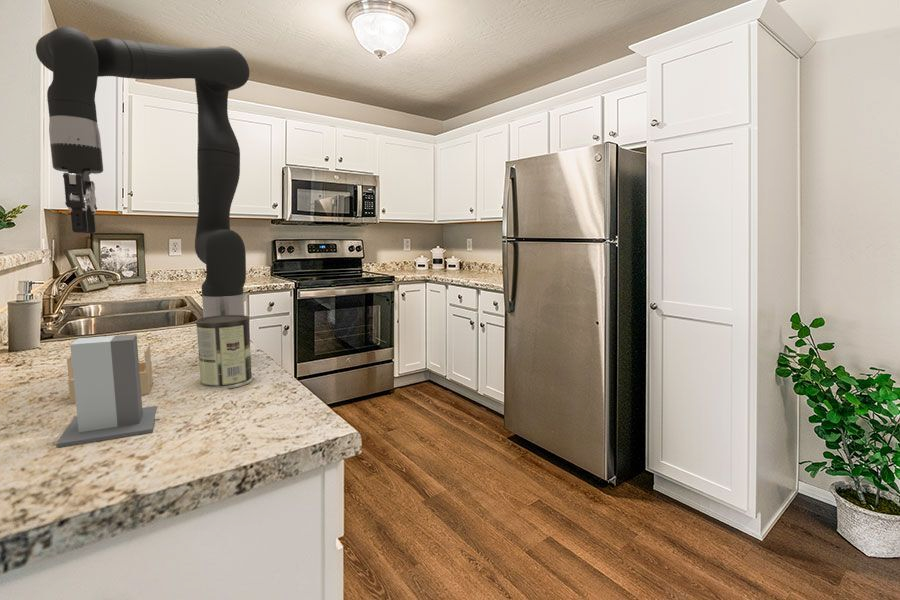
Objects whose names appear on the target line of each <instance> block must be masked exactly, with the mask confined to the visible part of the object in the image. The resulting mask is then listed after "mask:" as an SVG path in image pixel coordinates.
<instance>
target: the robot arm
mask: <svg viewBox="0 0 900 600" xmlns="http://www.w3.org/2000/svg"><path fill="white" fill-rule="evenodd" d="M35 54H36V55H37V58H38V60H39V62H40V63H41V64H42V65H43V66H44V67H45V68H46V69H47V70H49V71H51V72H52V81H51V84H50V85H49V86H48V87H47V88H48V89H47V93H46V95H47V96H46V97H47V100H46V101H47V107H48V116H49V119H48V121H49V122H48V134H49V136H48V137H49V145H50V146H49V147H50V152H51V163H52V168H53V169H54V170H55V171H59V172H63V174H62V177H63V184H64V195H65V197H64V198H65V206H66V207H67V208H68V210H69V212H70V220H71V228H72V232H73V233H84V234H95V233H96V232H97V228H96V217H95V214H96V213H97V210H98V207H97V198H96V193H95V191H96V186H95V182H94V181H93V180H91V178H90V175H91V174H93V175H95V174H97V175H98V174H101V173H103V172H104V164H103V163H104V161H103V152H102V150H103V149H102V142H101V134H100V130H99V125H98V116H97V106H96V93H97V92H96V91H97V86H98V78H100V77H116V78H123V79H124V78H125V79H132V80H133V79H135V80H152V81H153V80H156V81H158V80H176V79H177V80H178V79H180V80H181V79H194V84H195V93H196V94H195V95H196V100H197V193H198V195H197V197H198V212H197V222H196V228H195V230H196V231H195V238H194V250H195V254H196V256H197V258H198V259H199V260H200V261H201V262H202V263H203V264H205V266H206V268H205V269H206V271H205V272H206V273H205V279H204V282H203V283H202V284H201V300H202V301H201V302H202V318H204V317H211V316H220V315H244V316H245V301H244V300H245V299H244V297H245V296H244V286H245V283H246V282H247V281H246V279H247V264H246V263H247V258H246V257H247V255H246V246H245V242H244V240H243V238H242V237H241V235H240V234H239V233H238V232H236V231H234V230H231V225H230V223H231V222H230V221H231V220H230V219H231V218H230V213H231V206H232V204H233V200H234V197H235V193H236V191H237V189H238V184H239V181H240V174H241V150H240V145H239V142H238V141H239V140H238V139H237V136H236V134H235V132H234V130H233V128H232V126H231V122H230V120H229V114H228V101H229V100H228V99H229V92H230V91H234V90H236V89H240V88H242V87H243V86H245V85H246V84H247V83H248V81H249V80H250V79H249V78H250V67H249V63H248V62H247V60H246V58H245V57H244V55H243V54H242V53H241V52H239V51H238V50H237V49H235V48H233V47H230V46H223V45H221V46H214V47H212V46H210V47H191V46H189V47H188V46H178V45H177V46H176V45H169V44H167V45H166V44H159V43H153V42H151V43H150V42H145V41H139V40H131V39H124V38H117V37H104V38H103V37H102V38H100V39H91V38H89V35H88V36H87V34H86V33H84V32H83V31H81V30H80V29H77V28H74V27H72V26H61V27H57V28H54V29H53V30H51V31H50V32H48V33H46V34H45V35H42V36H41V37H40V38H39V39H38V41H37V42H36V45H35Z"/></svg>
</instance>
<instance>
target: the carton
mask: <svg viewBox="0 0 900 600" xmlns="http://www.w3.org/2000/svg"><path fill="white" fill-rule="evenodd" d="M150 345H151V344H150V343H147V345H146V347H145V349H144V353H143V354H144V361H142V362H139V372H140V385H141V396H146V395H150V392H151V388H152V386H153V381H154V380H153V368H152V360H151V359H152V358H151V357H152V356H151V346H150ZM66 365H67V373H68V374H67V375H68V380H67V382H68V384H67V385H68V392H69V393H68V395H69V404H70V405H73V404H75V405H76V399H75V388H74V378H73V367H72V357H71V354H70V355H69V356H68V357H67V358H66Z"/></svg>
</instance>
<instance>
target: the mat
mask: <svg viewBox="0 0 900 600" xmlns="http://www.w3.org/2000/svg"><path fill="white" fill-rule="evenodd" d="M157 409H158V405H153V406H145V407H142V411H143V414H142V417H141V421H140V423H138V424H132V425H125V426H118V427H111V428H105V429H98V430H91V431H85V432H79V430H78V420H77V416H74V417H73V419H72V420H70V423H69V424H68V426H67V427H66V428H65V430H64V432H63V433H62V435H61V436H60V437H59V439H58V441H57V442H56V443H55V446H56V447H55V448H57V447H58V448H64V447H70V445H71V446H76V444H77V445H82V444H88V443H89V444H90V443H95V442H96V443H97V442H101V441H108V440H112V439H113V440H114V439H120V438H126V437H132V436H138V435H146V434H151V433H154V432H153V431H154V427H155V422H156V415H157V414H156V413H157V411H158V410H157ZM63 446H64V447H63Z"/></svg>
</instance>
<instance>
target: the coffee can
mask: <svg viewBox="0 0 900 600" xmlns="http://www.w3.org/2000/svg"><path fill="white" fill-rule="evenodd" d="M195 324H196V335H197V349H198V362H199V363H198V364H199V376H200V384H201V385H202V386H203V387H204V386H205V387H208V388H224V387H227V388H228V389H235V388H240V387H243V386H245V385H248V384H250V383H251V382H252V381H253V375H252V357H251V356H252V355H251V338H250V317H249V316H248V315H245V314H244V315H220V316H211V317H204V318H203V317H200V318H198V319H196V320H195Z"/></svg>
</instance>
